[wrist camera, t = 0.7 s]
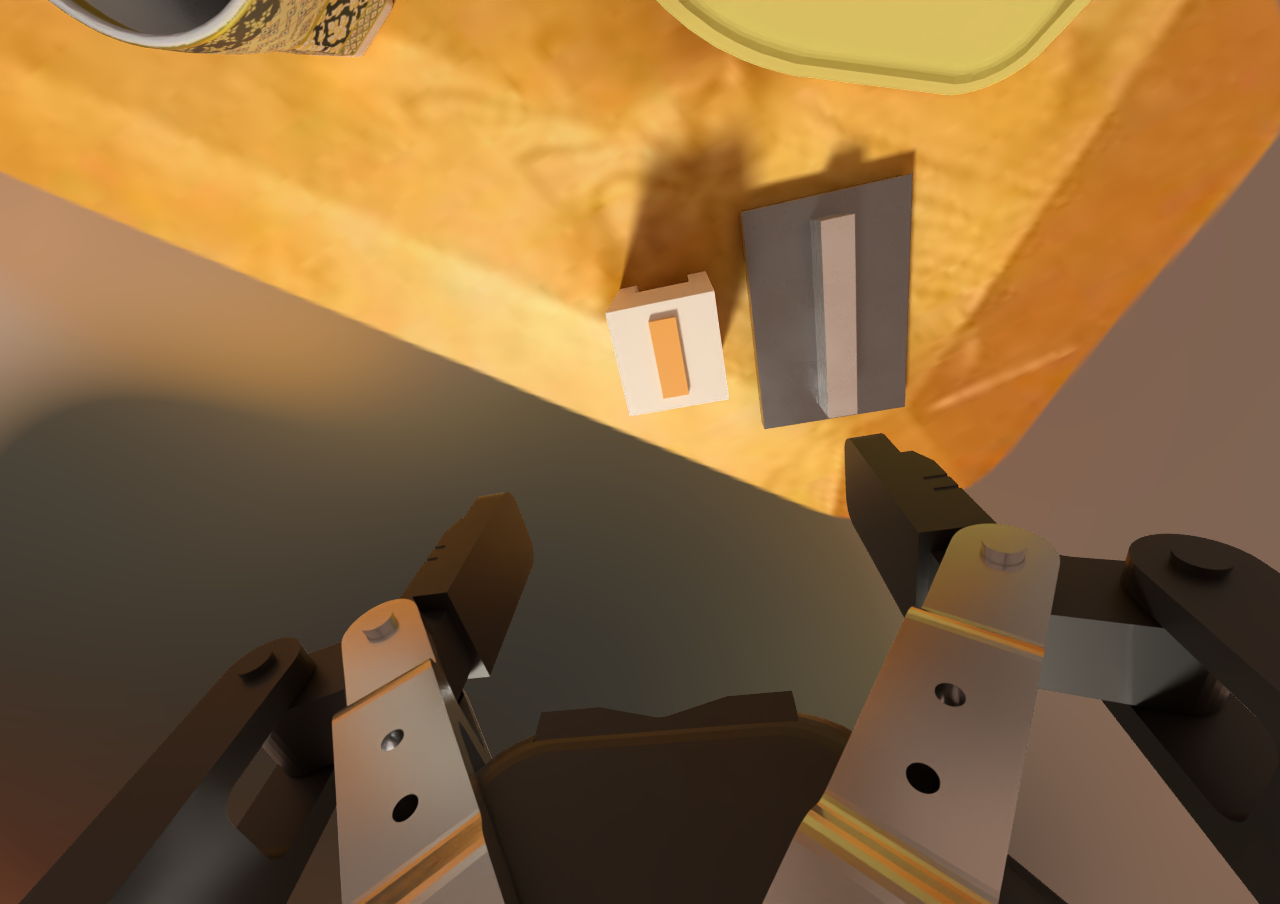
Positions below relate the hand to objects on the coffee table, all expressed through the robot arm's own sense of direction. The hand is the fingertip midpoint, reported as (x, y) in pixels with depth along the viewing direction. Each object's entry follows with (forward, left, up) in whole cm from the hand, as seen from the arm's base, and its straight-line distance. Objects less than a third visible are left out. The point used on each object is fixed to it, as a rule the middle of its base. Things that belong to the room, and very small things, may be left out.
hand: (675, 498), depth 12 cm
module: (0, 0, -18) cm, 18 cm away
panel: (+1, +8, -18) cm, 20 cm away
